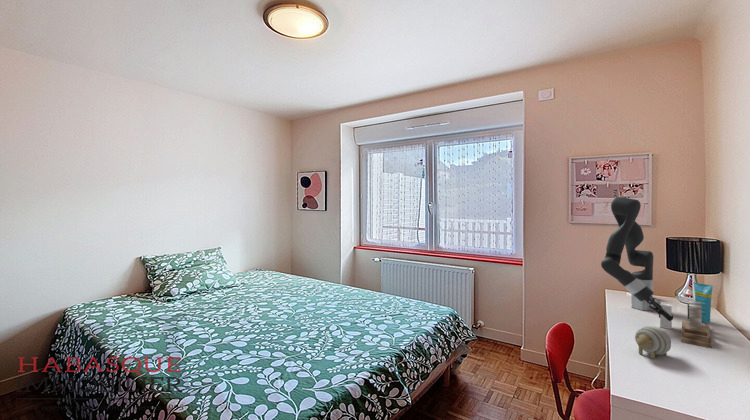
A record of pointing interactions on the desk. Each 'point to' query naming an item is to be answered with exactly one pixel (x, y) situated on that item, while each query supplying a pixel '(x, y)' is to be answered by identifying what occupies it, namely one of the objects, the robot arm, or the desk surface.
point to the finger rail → (696, 335)
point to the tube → (704, 299)
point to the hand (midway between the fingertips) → (671, 318)
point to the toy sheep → (653, 341)
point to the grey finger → (663, 320)
